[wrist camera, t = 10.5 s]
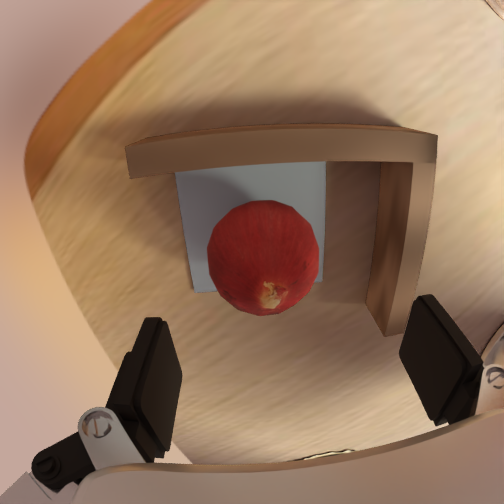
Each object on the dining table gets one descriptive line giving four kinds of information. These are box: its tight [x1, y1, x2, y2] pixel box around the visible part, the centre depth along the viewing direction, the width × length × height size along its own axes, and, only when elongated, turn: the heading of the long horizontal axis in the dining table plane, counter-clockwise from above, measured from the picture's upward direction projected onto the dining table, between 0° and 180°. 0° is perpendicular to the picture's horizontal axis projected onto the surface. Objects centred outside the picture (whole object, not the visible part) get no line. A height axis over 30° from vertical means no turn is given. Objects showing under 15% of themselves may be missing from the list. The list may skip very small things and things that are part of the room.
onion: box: [207, 200, 319, 316], centre depth 16 cm, size 6×6×8 cm
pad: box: [175, 161, 326, 293], centre depth 19 cm, size 9×9×1 cm
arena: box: [125, 123, 438, 337], centre depth 18 cm, size 14×16×4 cm
